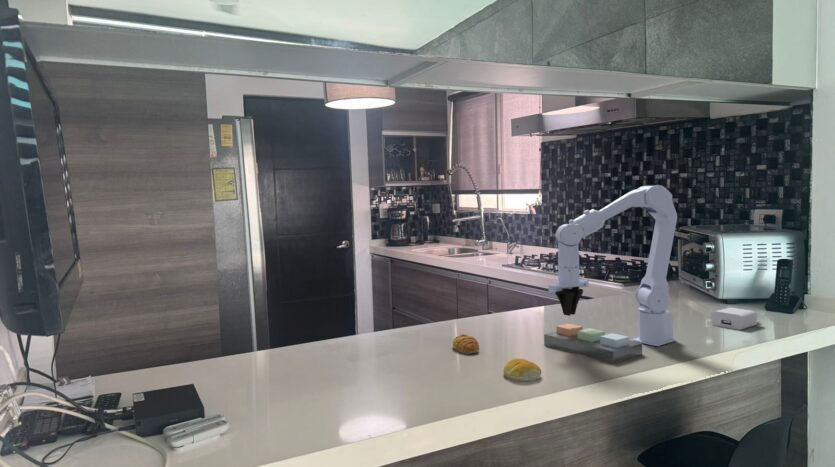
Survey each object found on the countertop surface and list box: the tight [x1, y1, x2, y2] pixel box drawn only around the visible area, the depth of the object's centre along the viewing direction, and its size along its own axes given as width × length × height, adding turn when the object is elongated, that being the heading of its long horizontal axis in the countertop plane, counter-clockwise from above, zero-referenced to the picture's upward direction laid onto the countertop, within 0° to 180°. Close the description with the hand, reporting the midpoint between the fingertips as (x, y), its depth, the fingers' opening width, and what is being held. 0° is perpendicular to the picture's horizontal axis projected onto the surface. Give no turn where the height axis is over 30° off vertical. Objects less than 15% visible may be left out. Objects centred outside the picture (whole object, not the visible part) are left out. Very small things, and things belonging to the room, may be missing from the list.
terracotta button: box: [556, 323, 583, 337], centre depth 157 cm, size 5×5×3 cm
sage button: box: [578, 327, 606, 342], centre depth 151 cm, size 5×5×3 cm
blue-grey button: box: [600, 332, 630, 348], centre depth 145 cm, size 5×5×3 cm
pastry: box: [452, 333, 480, 355], centre depth 154 cm, size 9×7×4 cm
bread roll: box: [502, 358, 542, 383], centre depth 131 cm, size 8×9×4 cm
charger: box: [711, 307, 758, 331], centre depth 174 cm, size 5×9×15 cm
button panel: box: [543, 330, 643, 364], centre depth 151 cm, size 12×23×3 cm, turn 34°
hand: (569, 314), depth 157 cm, fingers closed
